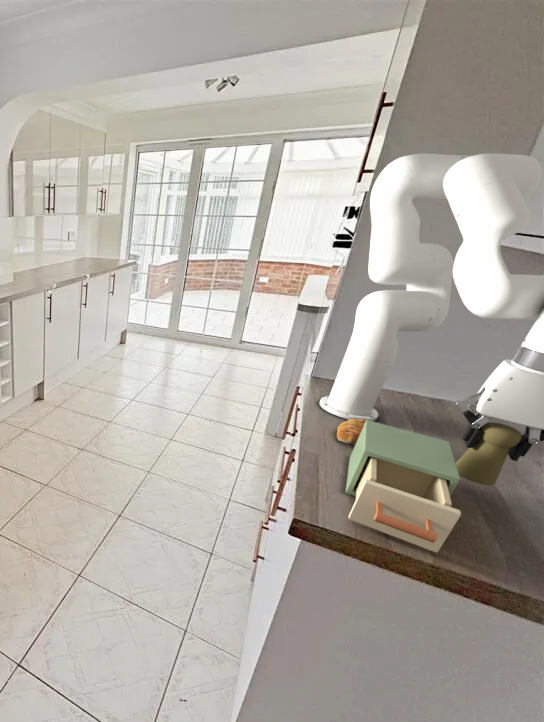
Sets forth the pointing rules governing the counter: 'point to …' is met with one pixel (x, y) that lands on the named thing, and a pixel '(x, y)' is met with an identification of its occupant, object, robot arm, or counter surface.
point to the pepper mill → (488, 453)
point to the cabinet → (402, 453)
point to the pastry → (350, 431)
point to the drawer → (404, 504)
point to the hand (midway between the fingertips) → (489, 449)
